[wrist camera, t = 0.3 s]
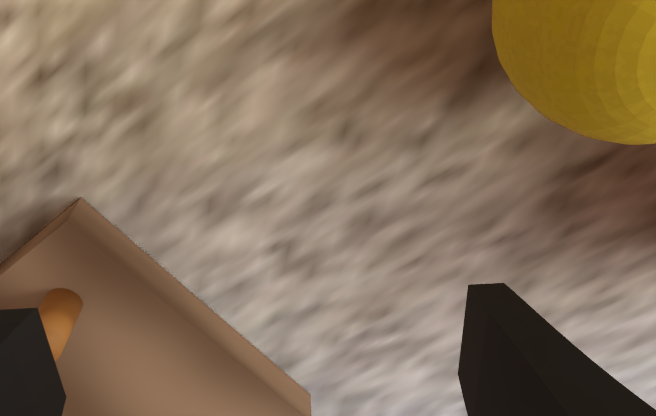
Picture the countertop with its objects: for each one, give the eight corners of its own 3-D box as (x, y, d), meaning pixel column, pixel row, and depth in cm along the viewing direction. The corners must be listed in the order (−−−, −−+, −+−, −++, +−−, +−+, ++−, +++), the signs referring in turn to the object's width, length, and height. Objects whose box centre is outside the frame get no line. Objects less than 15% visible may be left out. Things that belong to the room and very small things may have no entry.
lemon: (425, 39, 18) (514, 150, 11) (522, -164, 15) (714, -186, 9) (579, 103, 19) (746, 238, 12) (691, -76, 17) (977, -32, 10)
